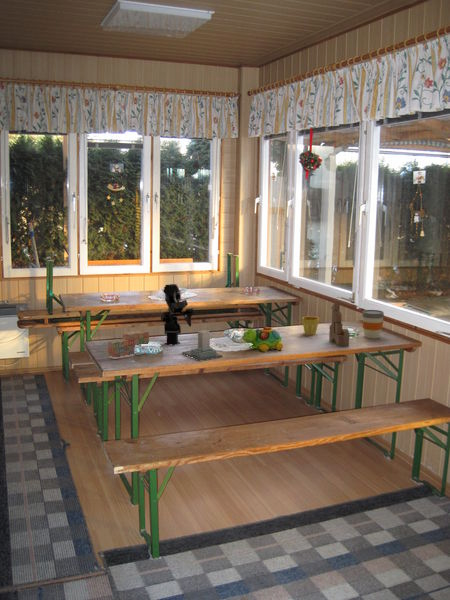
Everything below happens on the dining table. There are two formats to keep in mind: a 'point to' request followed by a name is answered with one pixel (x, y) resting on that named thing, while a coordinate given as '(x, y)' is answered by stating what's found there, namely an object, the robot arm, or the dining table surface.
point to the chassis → (202, 354)
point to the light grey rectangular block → (203, 341)
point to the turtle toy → (263, 338)
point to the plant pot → (310, 324)
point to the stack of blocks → (127, 343)
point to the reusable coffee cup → (372, 323)
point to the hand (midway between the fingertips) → (183, 327)
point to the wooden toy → (338, 327)
